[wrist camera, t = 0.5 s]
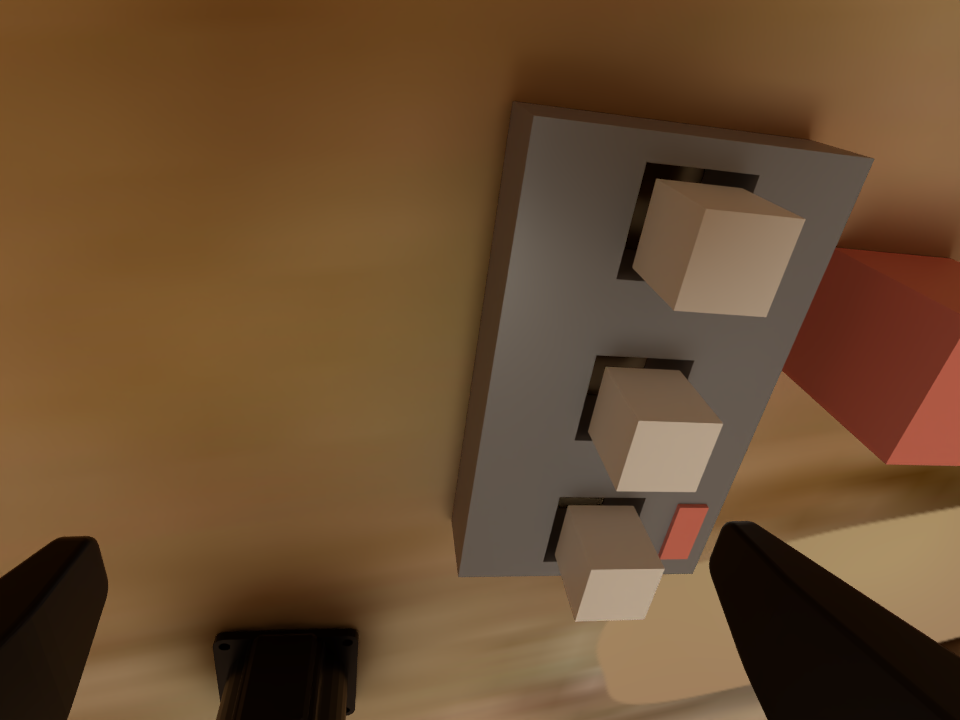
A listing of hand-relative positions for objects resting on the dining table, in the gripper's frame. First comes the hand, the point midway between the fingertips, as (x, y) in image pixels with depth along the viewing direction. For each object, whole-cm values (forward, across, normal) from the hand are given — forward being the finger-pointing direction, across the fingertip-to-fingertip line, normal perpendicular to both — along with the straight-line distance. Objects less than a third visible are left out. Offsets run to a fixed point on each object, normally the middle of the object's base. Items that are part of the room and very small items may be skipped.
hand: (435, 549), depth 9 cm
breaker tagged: (+10, -7, +10) cm, 16 cm away
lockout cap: (+13, -18, +1) cm, 22 cm away
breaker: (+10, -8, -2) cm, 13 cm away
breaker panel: (+13, -8, +4) cm, 15 cm away
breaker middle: (+10, -8, +4) cm, 13 cm away
